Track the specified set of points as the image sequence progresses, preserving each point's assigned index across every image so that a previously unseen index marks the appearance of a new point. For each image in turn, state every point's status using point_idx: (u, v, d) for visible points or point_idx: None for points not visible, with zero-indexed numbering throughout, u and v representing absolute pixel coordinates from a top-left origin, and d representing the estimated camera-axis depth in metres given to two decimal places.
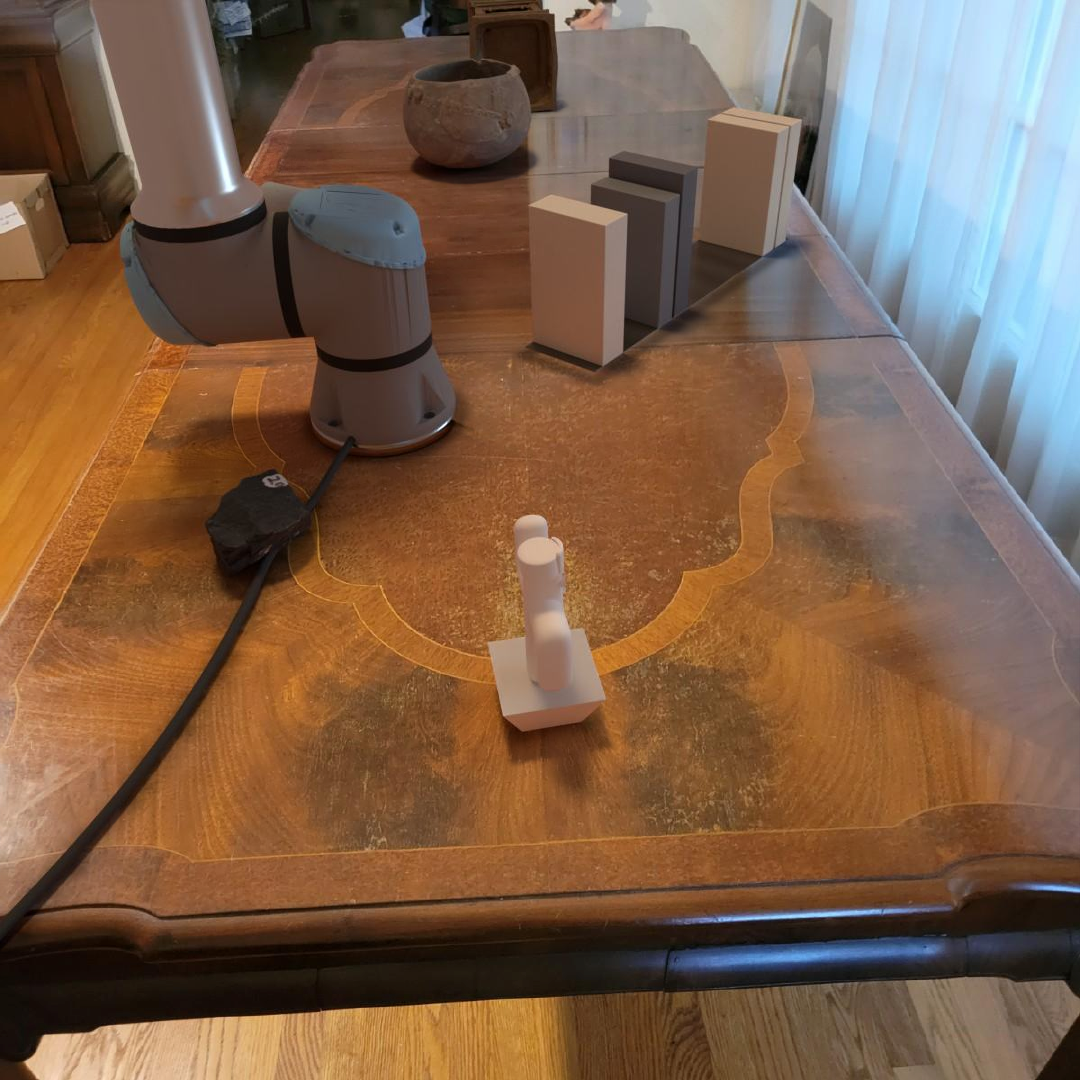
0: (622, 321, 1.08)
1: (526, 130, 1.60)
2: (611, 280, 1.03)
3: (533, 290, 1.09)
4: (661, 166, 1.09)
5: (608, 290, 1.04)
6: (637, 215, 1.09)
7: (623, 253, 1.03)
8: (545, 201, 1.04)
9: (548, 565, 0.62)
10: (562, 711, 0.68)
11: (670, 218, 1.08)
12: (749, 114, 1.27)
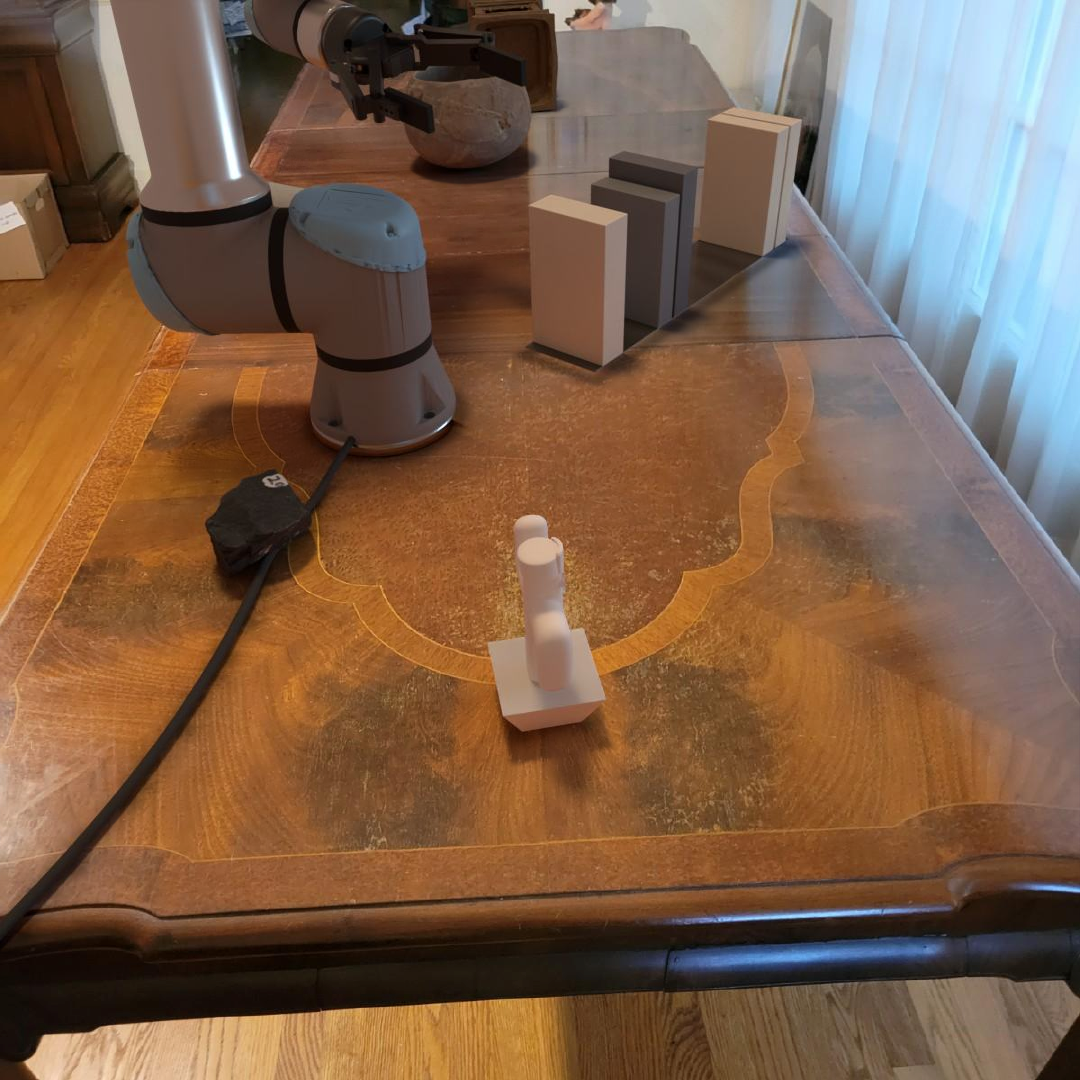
0: (622, 321, 1.08)
1: (526, 130, 1.60)
2: (611, 280, 1.03)
3: (533, 290, 1.09)
4: (661, 166, 1.09)
5: (608, 290, 1.04)
6: (637, 215, 1.09)
7: (623, 253, 1.03)
8: (545, 201, 1.04)
9: (548, 565, 0.62)
10: (562, 711, 0.68)
11: (670, 218, 1.08)
12: (749, 114, 1.27)
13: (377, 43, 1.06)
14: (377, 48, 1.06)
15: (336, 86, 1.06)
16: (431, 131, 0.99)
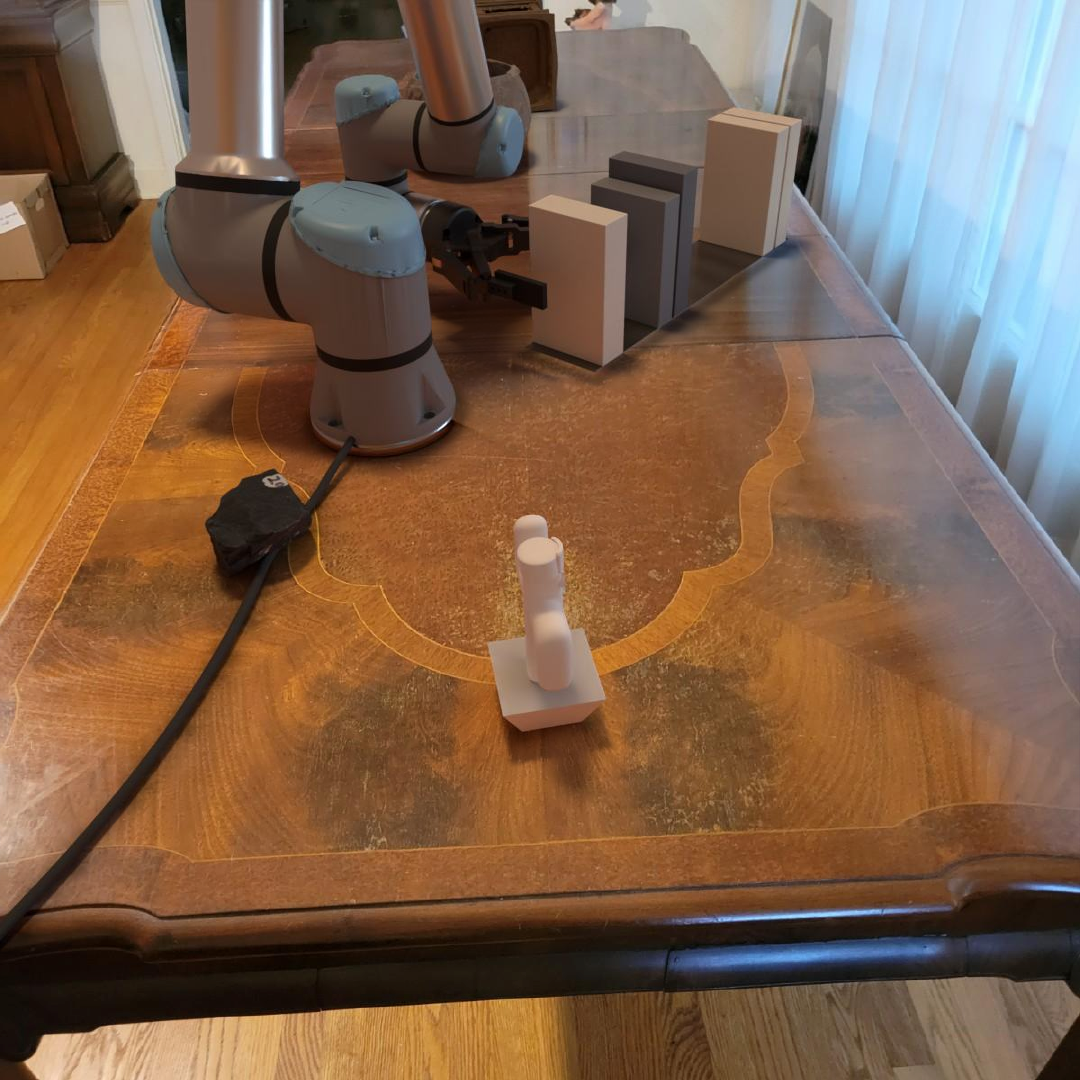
0: (622, 321, 1.08)
1: (526, 130, 1.60)
2: (611, 280, 1.03)
3: None
4: (661, 166, 1.09)
5: (608, 290, 1.04)
6: (637, 215, 1.09)
7: (623, 253, 1.03)
8: (545, 201, 1.04)
9: (548, 565, 0.62)
10: (562, 711, 0.68)
11: (670, 218, 1.08)
12: (749, 114, 1.27)
13: (476, 231, 1.11)
14: (477, 236, 1.11)
15: (439, 271, 1.10)
16: (544, 307, 1.03)
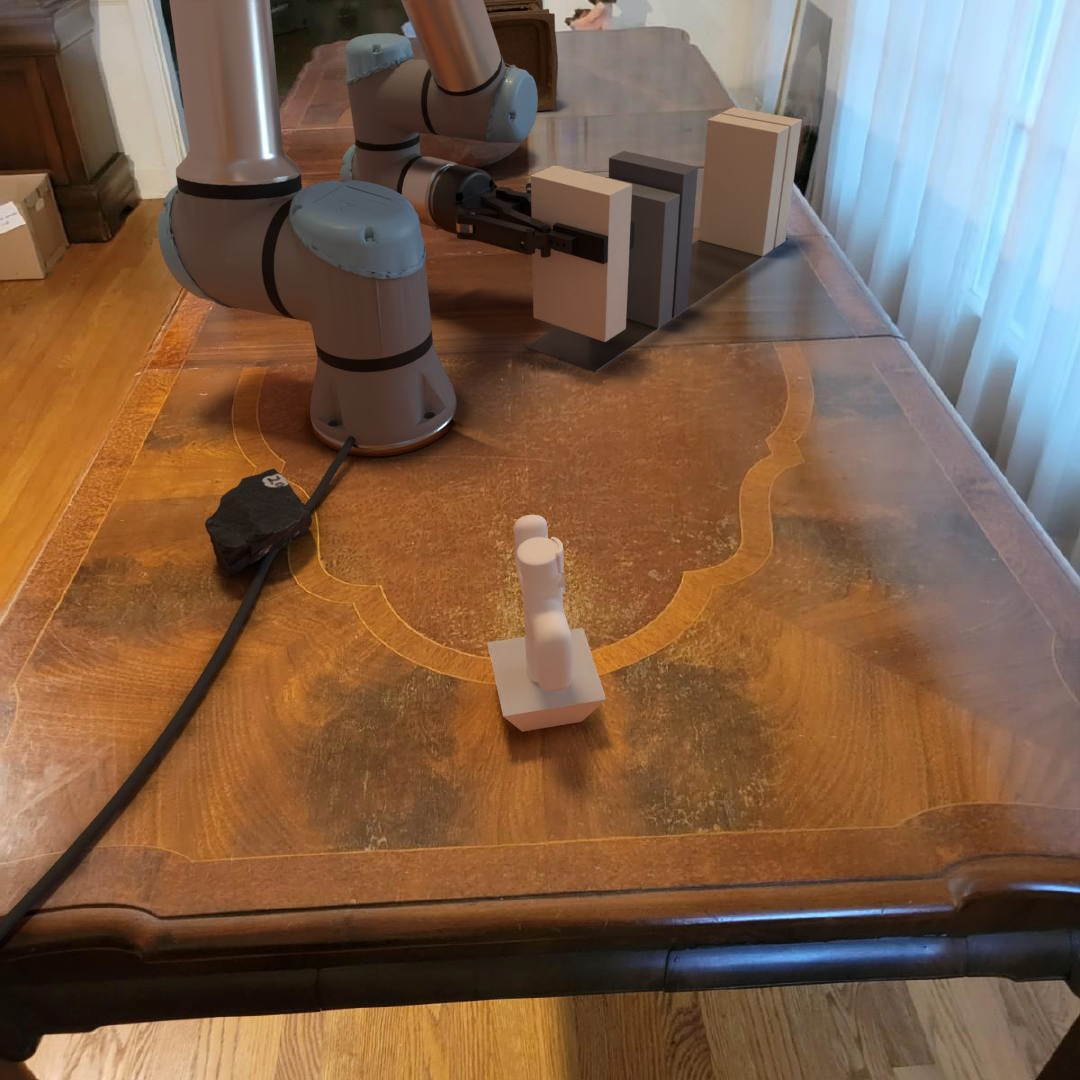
0: (625, 296, 1.06)
1: None
2: (614, 252, 1.01)
3: (534, 264, 1.07)
4: (661, 166, 1.09)
5: (612, 263, 1.02)
6: (637, 215, 1.09)
7: (627, 225, 1.01)
8: (548, 172, 1.02)
9: (548, 565, 0.62)
10: (562, 711, 0.68)
11: (670, 218, 1.08)
12: (749, 114, 1.27)
13: (490, 194, 1.08)
14: (495, 198, 1.07)
15: (468, 237, 1.05)
16: (605, 261, 1.00)
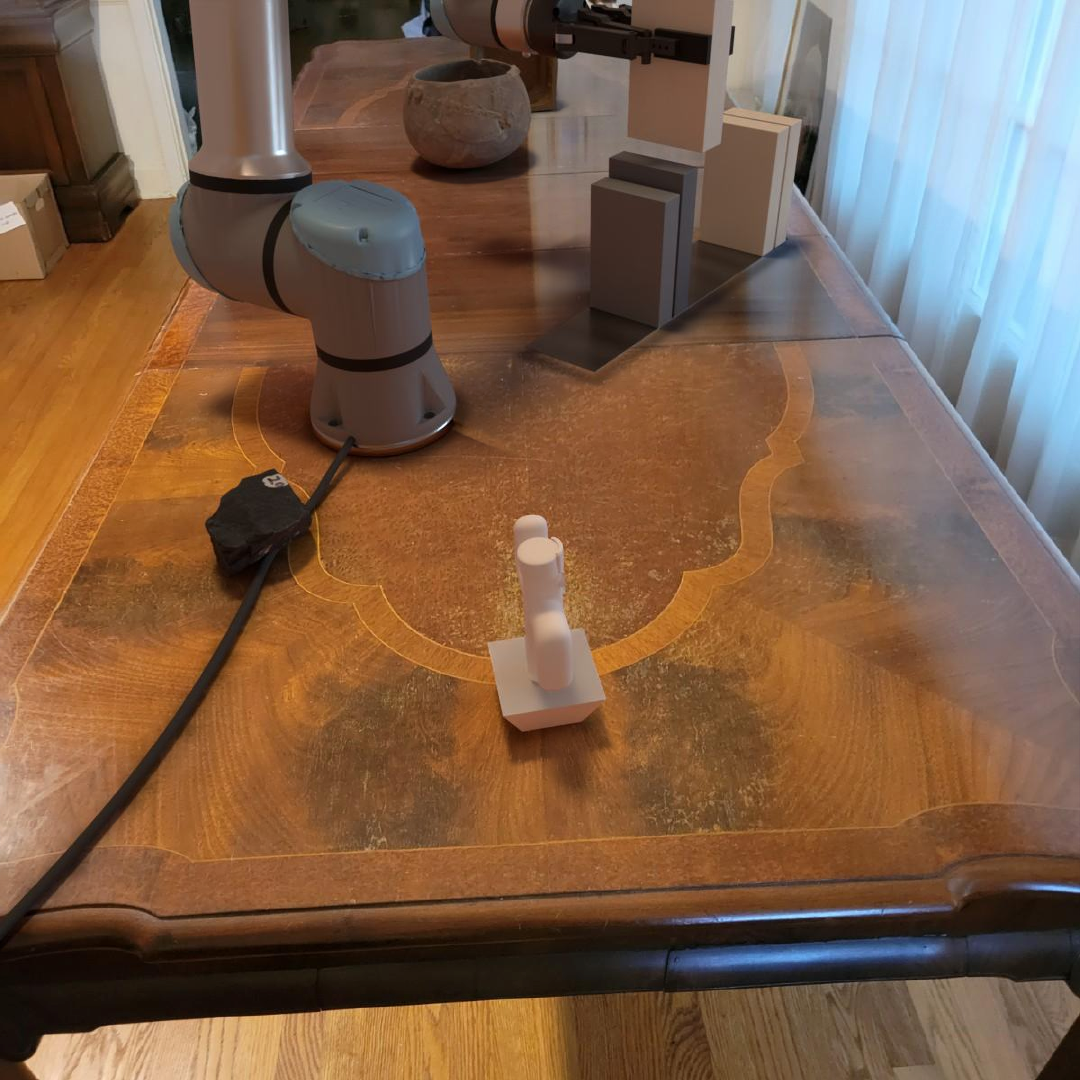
0: (722, 107, 1.07)
1: (526, 130, 1.60)
2: (716, 55, 1.02)
3: (632, 77, 1.08)
4: (661, 166, 1.09)
5: (713, 66, 1.03)
6: (637, 215, 1.09)
7: (729, 27, 1.02)
8: None
9: (548, 565, 0.62)
10: (562, 711, 0.68)
11: (670, 218, 1.08)
12: (749, 114, 1.27)
13: (587, 8, 1.09)
14: (592, 12, 1.08)
15: (567, 48, 1.07)
16: (707, 62, 1.01)
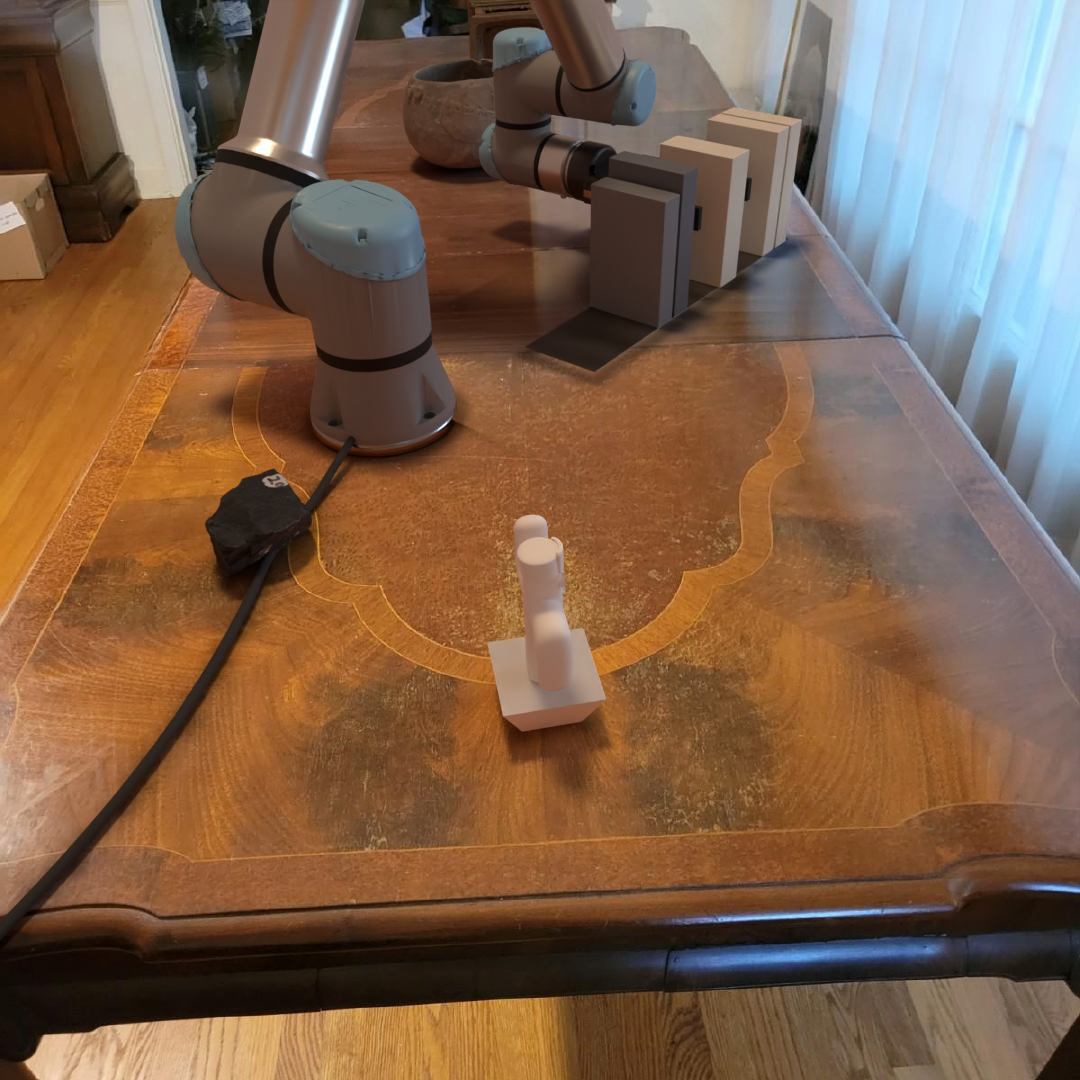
0: (737, 248, 1.23)
1: None
2: (732, 209, 1.18)
3: None
4: (661, 166, 1.09)
5: (730, 218, 1.19)
6: (637, 215, 1.09)
7: (743, 185, 1.18)
8: (674, 140, 1.19)
9: (548, 565, 0.62)
10: (562, 711, 0.68)
11: (670, 218, 1.08)
12: (749, 114, 1.27)
13: None
14: None
15: (590, 202, 1.23)
16: (698, 229, 1.16)
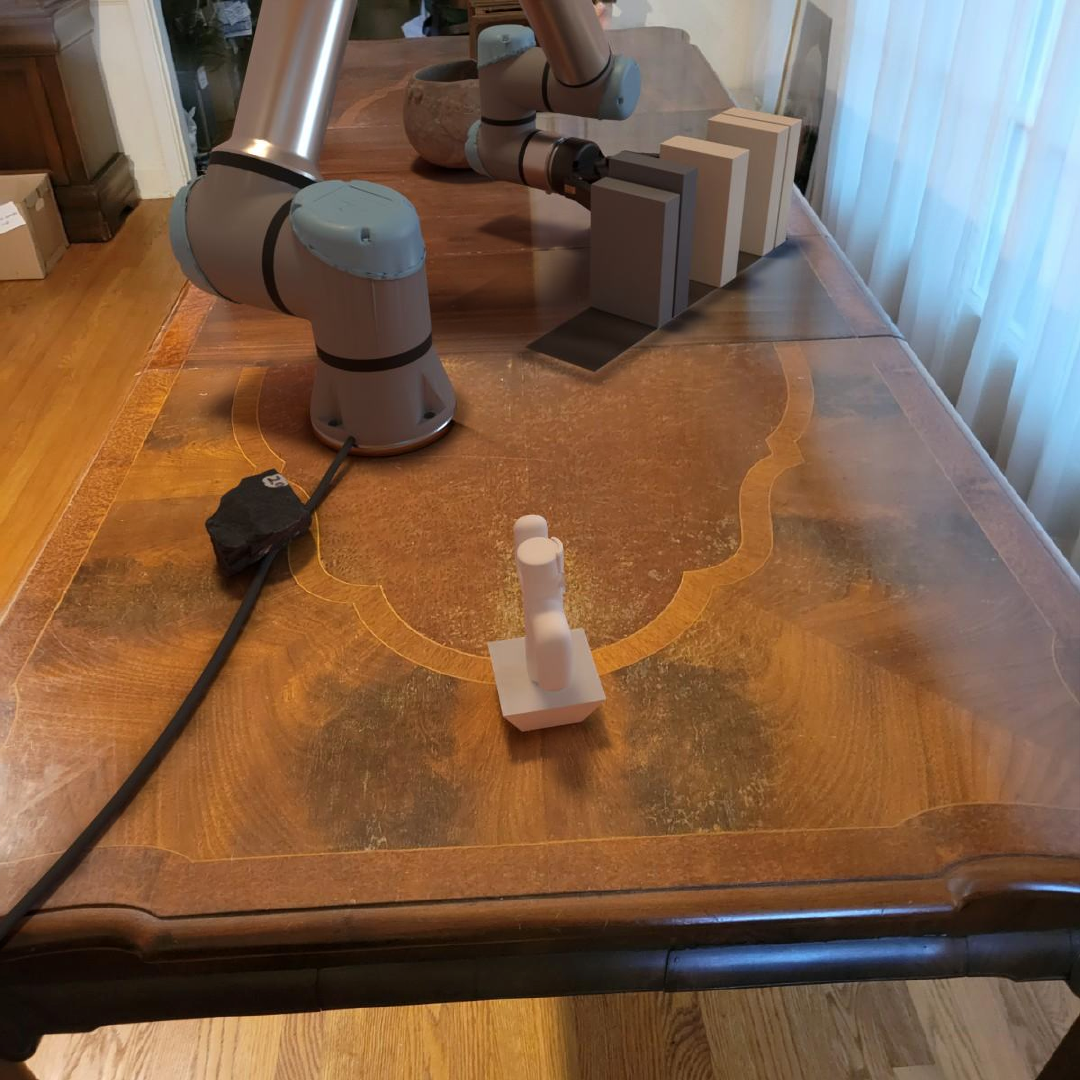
0: (737, 248, 1.23)
1: None
2: (732, 209, 1.18)
3: None
4: (661, 166, 1.09)
5: (730, 218, 1.19)
6: (637, 215, 1.09)
7: (743, 185, 1.18)
8: (674, 140, 1.19)
9: (548, 565, 0.62)
10: (562, 711, 0.68)
11: (670, 218, 1.08)
12: (749, 114, 1.27)
13: (602, 163, 1.26)
14: (604, 166, 1.25)
15: (571, 197, 1.25)
16: None
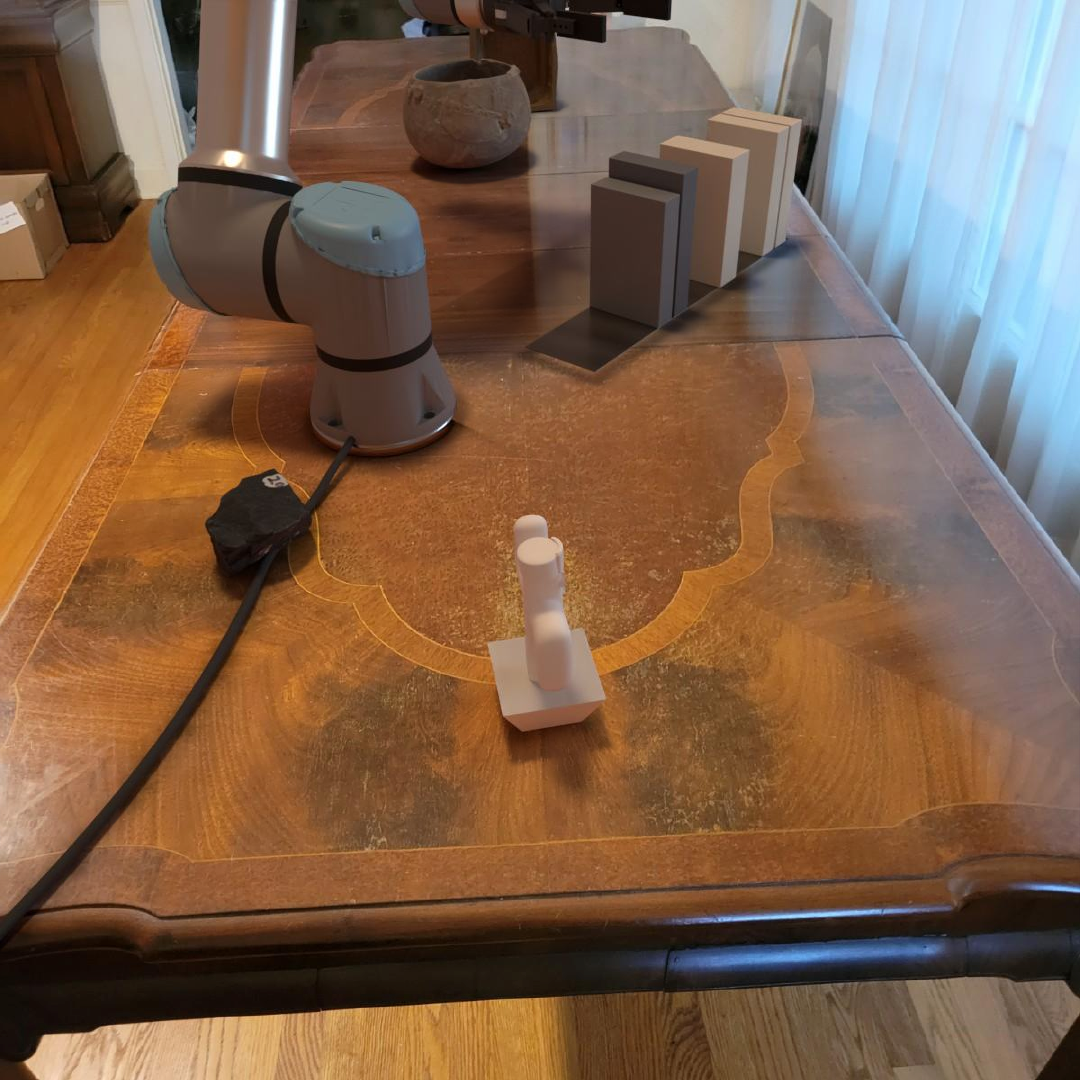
0: (737, 248, 1.23)
1: (526, 130, 1.60)
2: (732, 209, 1.18)
3: None
4: (661, 166, 1.09)
5: (730, 218, 1.19)
6: (637, 215, 1.09)
7: (743, 185, 1.18)
8: (674, 140, 1.19)
9: (548, 565, 0.62)
10: (562, 711, 0.68)
11: (670, 218, 1.08)
12: (749, 114, 1.27)
13: None
14: None
15: (501, 22, 1.18)
16: (603, 41, 1.11)
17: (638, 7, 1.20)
